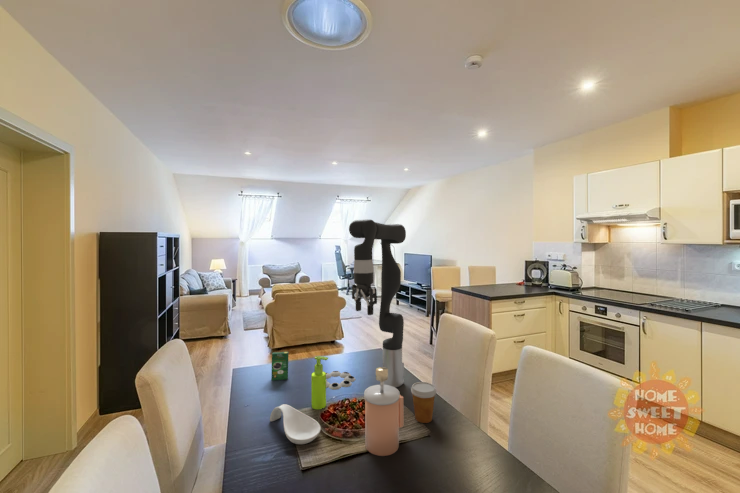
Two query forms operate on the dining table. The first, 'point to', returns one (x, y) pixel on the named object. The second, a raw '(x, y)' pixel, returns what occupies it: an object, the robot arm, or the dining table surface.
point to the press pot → (383, 419)
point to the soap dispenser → (318, 385)
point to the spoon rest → (296, 424)
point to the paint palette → (342, 375)
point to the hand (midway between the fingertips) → (364, 312)
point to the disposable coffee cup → (423, 401)
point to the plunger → (381, 376)
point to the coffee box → (279, 366)
